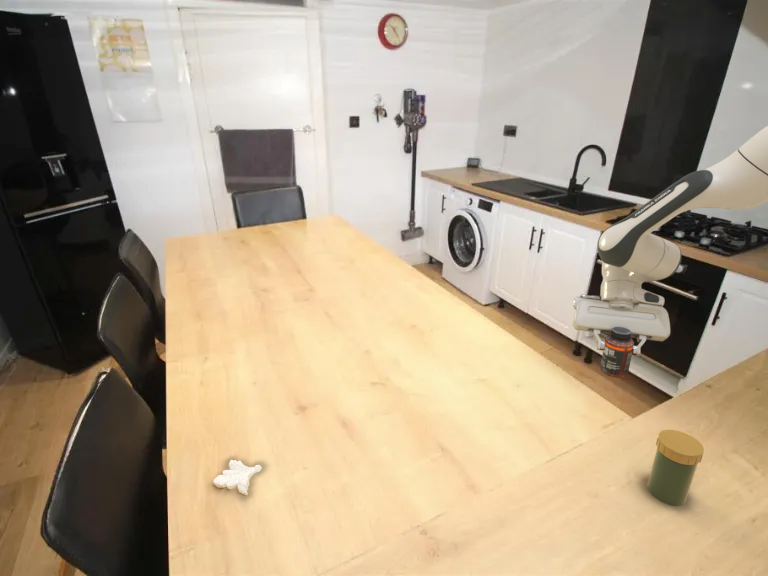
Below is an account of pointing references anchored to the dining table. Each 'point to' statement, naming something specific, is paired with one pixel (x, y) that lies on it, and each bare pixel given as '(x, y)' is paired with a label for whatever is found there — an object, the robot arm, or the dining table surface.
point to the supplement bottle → (617, 353)
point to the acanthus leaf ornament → (236, 476)
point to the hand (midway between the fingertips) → (618, 352)
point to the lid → (680, 447)
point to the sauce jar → (670, 480)
